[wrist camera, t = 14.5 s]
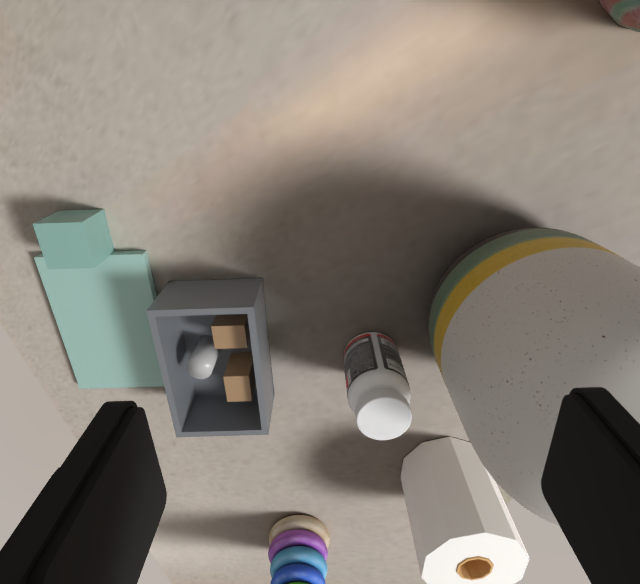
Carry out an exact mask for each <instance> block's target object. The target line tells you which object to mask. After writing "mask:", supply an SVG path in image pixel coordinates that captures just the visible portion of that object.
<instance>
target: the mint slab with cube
mask: <svg viewBox="0 0 640 584" xmlns="http://www.w3.org/2000/svg"><path fill="white" fill-rule="evenodd" d="M33 227H34V230H35V233H36V236H37V239H38V242H39V245H40V248H41V251H42V254H39V255H37V256H36V257H34V259H35V262H36V265H37V268H38V271H39V273H40V276H41V279H42V282H43V285H44V288H45V291H46V294H47V296H48V299H49V302H50V305H51V308H52V311H53V314H54V317H55V319H56V322H57V325H58V328H59V331H60V334H61V337H62V340H63V342H64V345H65V348H66V351H67V354H68V357H69V360H70V363H71V365H72V368H73V371H74V374H75V377H76V380H77V383H78V385H79V388H80V389H87V388H125V387H162V386H164V383H163V379H162V375H161V370H160V366H159V362H158V358H157V354H156V350H155V345H154V341H153V337H152V333H151V329H150V324H149V320H148V316H147V312H146V310H147V309H148V308H149V306H150V305H151V304H152V302H153V301H154V300H155V299H156V297H157V295H156V290H155V286H154V281H153V277H152V272H151V268H150V263H149V258H148V254H147V250H144V251H114V247H113V243H112V239H111V235H110V231H109V227H108V223H107V219H106V215H105V211H104V209H91V210H60V211H57V212H55V213H53V214H51V215H49V216H47V217H45V218H43V219H41V220H39V221H37V222H35V223H33Z"/></svg>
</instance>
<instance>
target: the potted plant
mask: <svg viewBox="0 0 640 584" xmlns="http://www.w3.org/2000/svg"><path fill="white" fill-rule="evenodd" d="M600 4H601V5H602V6H603V7H604V9H605V10H606V11H607V12H608V13H609V15H610V16H611V17H612V18H613V19H614V20H615V22H616V23H617V24H619V25H620V26H622V27H625V28H629V29H632V30H634V31H637V32H640V0H600Z"/></svg>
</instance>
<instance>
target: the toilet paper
mask: <svg viewBox="0 0 640 584" xmlns="http://www.w3.org/2000/svg"><path fill="white" fill-rule="evenodd" d="M401 482H402V487H403V492H404V497H405V502H406V506H407V511H408V516H409V521H410V525H411V530H412V535H413V540H414V545H415V549H416V554H417V559H418V564H419V569H420V573H421V578H422V579H423V580H424V581H425V582H426V583H427V584H515V583H516V582H518V581H520V580H521V579H522V577H523V574H524V572H525V569H526V567H527V564H528V561H529V559H530V558H529V556H528V554H527V551H526V549H525V547H524V545H523V542H522V540H521V538H520V536H519V533H518V531H517V529H516V527H515V525H514V522H513V520H512V518H511V516H510V513H509V511H508V509H507V507H506V504H505V502H504V500H503V498H502V495H501V493H500V491H499V489H498V486H497V484H496V482H495V480H494V479H493V478H492V476H491V475H490V473H489V472H488V471H487V469H486V468H485V467H484V465H483V464H482V462H481V461H480V459H479V457H478V455H477V454H476V452H475V450H474V448H473V446H472V444H471V443H470V442H467V441H463V440H460V439H456V438H453V437H445V438H441V439H436V440H431V441H427V442H422V443H421V444H420V445H419V446H417V447H416V448H415V449H414V450H413V451H412V452H410V453H409V454H408V455H407V456H406V457H405V458H404V459H403V465H402V471H401Z"/></svg>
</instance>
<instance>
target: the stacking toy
mask: <svg viewBox="0 0 640 584" xmlns="http://www.w3.org/2000/svg"><path fill="white" fill-rule="evenodd" d="M329 542H330V536H329V532H328V530H327V528H326V526H325V525H324V524H323V523H322V522H321V521H319V520H318V519H316V518H313V517H310V516H305V515H294V516H289V517H285V518H283V519H281V520H279V521H278V522H277V523H276V524H275V525H274V526H273V527H272V529H271V531H270V534H269V545H270V547H269V552H268V556H269V560H270V563H271V567H270V573H271V577H272V580H271V584H325V578H326V575H327V563H326V560H327V555H328V551H327V548H328V546H329Z"/></svg>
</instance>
